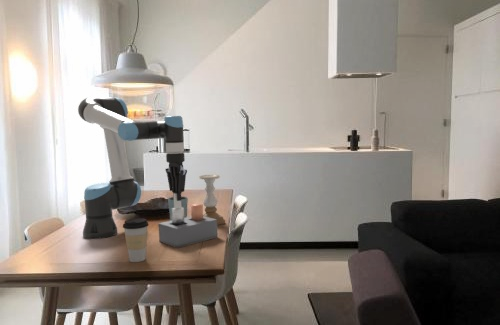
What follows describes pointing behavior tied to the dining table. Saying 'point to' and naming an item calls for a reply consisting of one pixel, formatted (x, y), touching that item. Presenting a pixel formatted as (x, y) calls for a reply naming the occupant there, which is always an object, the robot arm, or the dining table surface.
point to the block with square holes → (187, 232)
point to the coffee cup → (136, 238)
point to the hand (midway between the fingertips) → (177, 207)
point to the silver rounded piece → (178, 216)
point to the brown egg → (196, 212)
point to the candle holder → (211, 199)
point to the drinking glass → (183, 204)
